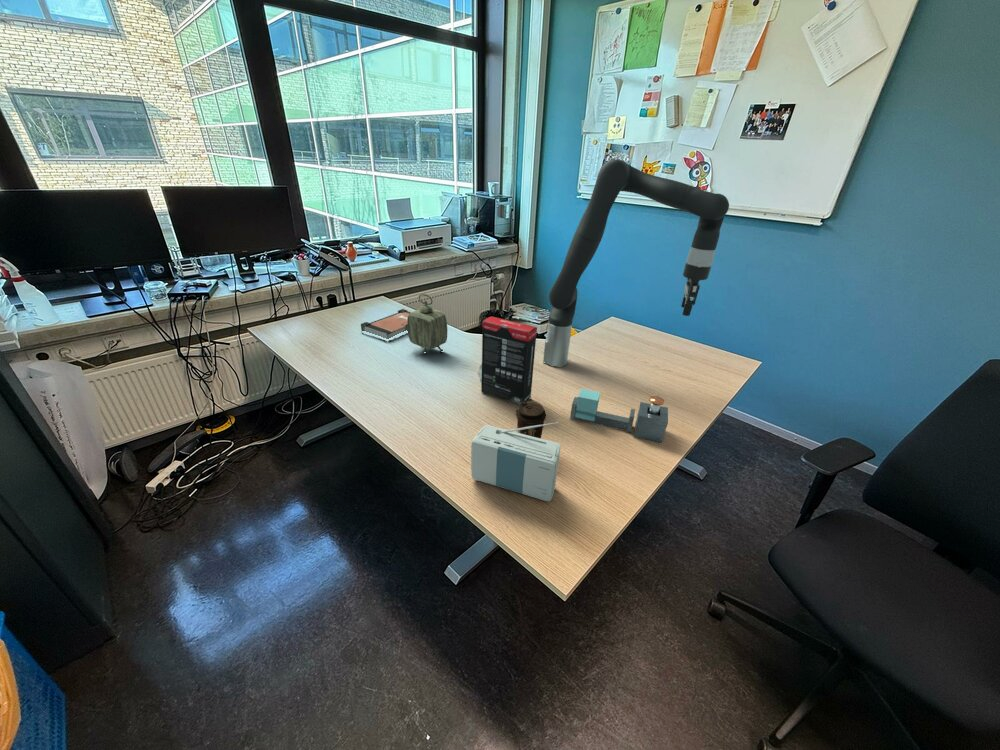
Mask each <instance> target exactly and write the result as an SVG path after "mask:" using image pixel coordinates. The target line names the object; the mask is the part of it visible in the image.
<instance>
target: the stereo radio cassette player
mask: <svg viewBox="0 0 1000 750" xmlns="http://www.w3.org/2000/svg"><path fill="white" fill-rule="evenodd" d="M555 424H556V425H558V424H559V421H556V422H550V423H544V424H543V425H536V426H529V427H524V428H518V429H517V428H514V429H506V428H505V429H504V428H500V427H496V426H493V425H489V424H484V425H483V426H482V427H481V429H479V431H478V432H477V433H476V435H475V436H474V438H473V439H472V441H471V447H470V448H471V451H470V454H471V456H470V462H471V463H470V466H471V467H470V469H471V470H470V471H471V479H473V480H475V481H479V482H482V483H485V484H489V485H492V486H496V487H499V488H502V489H505V490H507V491H511V492H515V493H519V494H522V495H525V496H529V497H531V498H534V499H535V498H536V499H537V500H540V501H541V500H542V501H543V502H544V501H545V502H551V500H552V499H553V496H554V493H555V489H556V483H557V477H558V469H559V460H560V452H561V446H562V445H561V444H560V443H559V442H555V441H551V440H547V439H544V438H541V439H540V438H536V437H532V436H528V435H524V434H520V433H518V431H517V430H523V429H529V428H534V427H540V426H543V427H545V426H549V425H555Z"/></svg>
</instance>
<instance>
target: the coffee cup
mask: <svg viewBox="0 0 1000 750" xmlns="http://www.w3.org/2000/svg"><path fill="white" fill-rule="evenodd" d="M518 407H519V408H517V409H516V410H515V416H516V420H517V424H516V425H517V426H516V429H518V428H524V427H529V426H536V425H543V424H545V420H546V417H547V412H546V409H545V408H544V406H543V405H542V404H541V403H539V402H536V401H527V402H525V403H521V404H520V405H519V406H518ZM543 431H544V426H540V427H534V428H529V429H523V430H517V431H516V432H517V433H520V434H524V435H528V436H532V437H536V438H540V439H542V435H543Z"/></svg>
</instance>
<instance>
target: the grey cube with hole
mask: <svg viewBox="0 0 1000 750" xmlns="http://www.w3.org/2000/svg"><path fill="white" fill-rule="evenodd" d="M650 406H651V403H647V402H643V401H640V403H639V407H638V411H637V414H636V415H637V416H636V419H635V423H634V433H633V438H634V439H639V440H643V441H648V442H652V443H655V444H656V443H657V444H662V443H663V440H664V438H665V434H666V431H667V426H668V424H669V407H666V406H663V405H660V409H659V412H658V415H653V414H648V413H649V410H650Z"/></svg>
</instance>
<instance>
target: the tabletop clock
mask: <svg viewBox="0 0 1000 750" xmlns="http://www.w3.org/2000/svg"><path fill="white" fill-rule="evenodd" d="M423 296H424V297H428V298H429V299H430V301H431V302H428V301H427V300H425V301H422V300H421V297H423ZM418 300H419V302H420V303H421V304H422V305H421V306H420V308H419V309H416V310H414V311H412V312H411V311H410V312H411V313H409V316H408V319H407V325H408V334H407V335H408V340H409V341H410V343H412V344H413V345H416V346H418V347H421V348H424V350H422V353H423V352H426V351H427V349H430V350H434V349H436V348H438V349H439V352H440V351H443V350H444V349H442V348H441V345H444V344H445V343H447V341H448V322H447V317H446V314H445V313H443V312H442V311H440V310H438V309H435V308H432V306H431V305H432V304H433V298H432V297H431V296H430V295H428V294H426V293H421V294H419V295H418Z"/></svg>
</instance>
